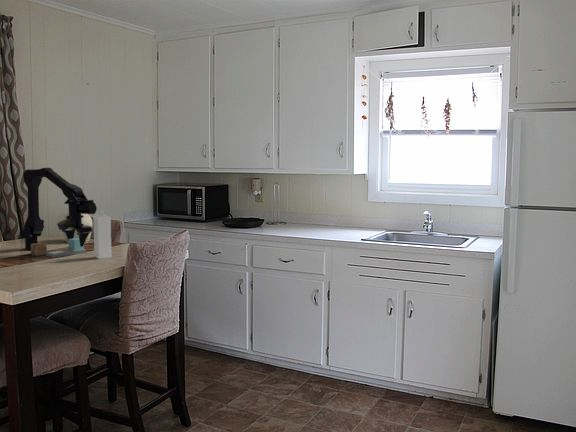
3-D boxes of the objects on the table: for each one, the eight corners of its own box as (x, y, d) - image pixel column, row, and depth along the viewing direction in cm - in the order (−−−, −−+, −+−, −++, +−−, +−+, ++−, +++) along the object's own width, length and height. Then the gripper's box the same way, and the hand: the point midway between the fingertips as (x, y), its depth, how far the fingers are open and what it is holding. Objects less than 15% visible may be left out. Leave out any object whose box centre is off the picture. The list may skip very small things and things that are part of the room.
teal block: (68, 249, 276) (68, 239, 275) (77, 248, 280) (77, 238, 279) (74, 250, 273) (74, 240, 272) (83, 249, 277) (83, 239, 276)
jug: (87, 243, 303) (85, 196, 300) (57, 243, 303) (56, 196, 300) (97, 239, 318) (95, 194, 315) (69, 238, 318) (67, 194, 315)
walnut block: (31, 254, 272) (30, 244, 271) (41, 253, 276) (40, 242, 275) (36, 255, 269) (36, 245, 268) (46, 254, 273) (46, 243, 272)
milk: (98, 259, 261) (97, 211, 259) (94, 257, 266) (92, 210, 263) (111, 257, 265) (110, 210, 262) (107, 255, 270) (105, 209, 267)
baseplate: (45, 255, 268) (45, 252, 268) (78, 250, 281) (78, 247, 281) (54, 257, 264) (53, 254, 264) (86, 252, 277) (86, 249, 277)
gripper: (48, 213, 274) (50, 245, 276) (70, 216, 262) (72, 249, 264) (69, 211, 283) (71, 242, 284) (92, 214, 271) (93, 246, 273)
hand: (76, 245), depth 276 cm, fingers open, 9 cm apart
